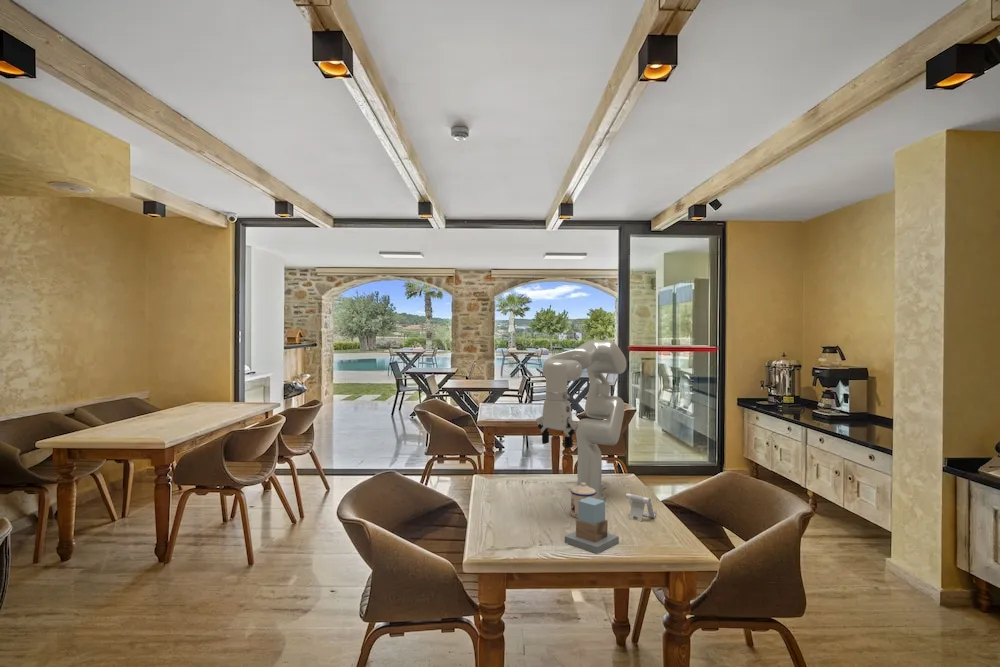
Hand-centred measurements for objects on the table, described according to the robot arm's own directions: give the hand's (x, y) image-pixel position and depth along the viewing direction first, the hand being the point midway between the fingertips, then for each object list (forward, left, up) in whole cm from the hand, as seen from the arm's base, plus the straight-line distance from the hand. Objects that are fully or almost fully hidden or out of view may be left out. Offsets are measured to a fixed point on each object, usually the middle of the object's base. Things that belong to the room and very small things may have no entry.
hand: (556, 445), depth 184 cm
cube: (+8, +20, -19) cm, 29 cm away
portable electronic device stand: (-24, +19, -27) cm, 41 cm away
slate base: (+8, +20, -26) cm, 34 cm away
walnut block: (+8, +20, -24) cm, 33 cm away
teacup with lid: (-10, +4, -27) cm, 29 cm away
